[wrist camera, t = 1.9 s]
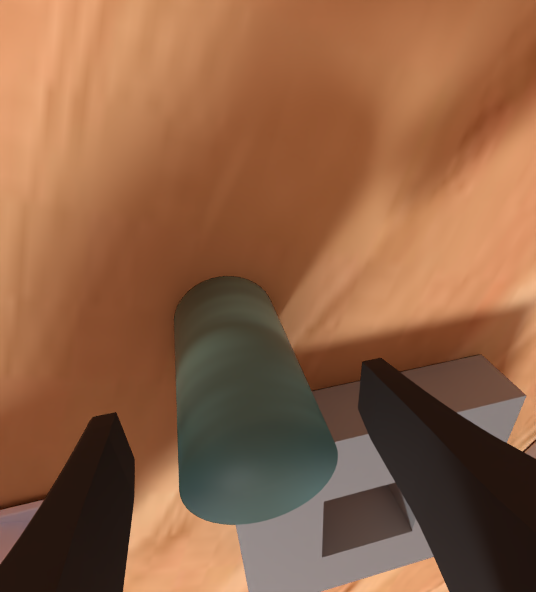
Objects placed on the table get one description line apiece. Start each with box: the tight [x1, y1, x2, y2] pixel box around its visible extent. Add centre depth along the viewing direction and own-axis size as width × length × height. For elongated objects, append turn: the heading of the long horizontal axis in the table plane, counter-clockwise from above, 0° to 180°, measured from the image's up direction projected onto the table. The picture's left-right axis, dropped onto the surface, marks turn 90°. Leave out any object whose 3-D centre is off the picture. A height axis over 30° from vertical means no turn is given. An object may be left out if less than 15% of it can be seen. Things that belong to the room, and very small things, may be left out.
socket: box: [236, 355, 526, 592], centre depth 21 cm, size 14×14×3 cm
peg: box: [174, 276, 338, 525], centre depth 12 cm, size 4×4×7 cm
